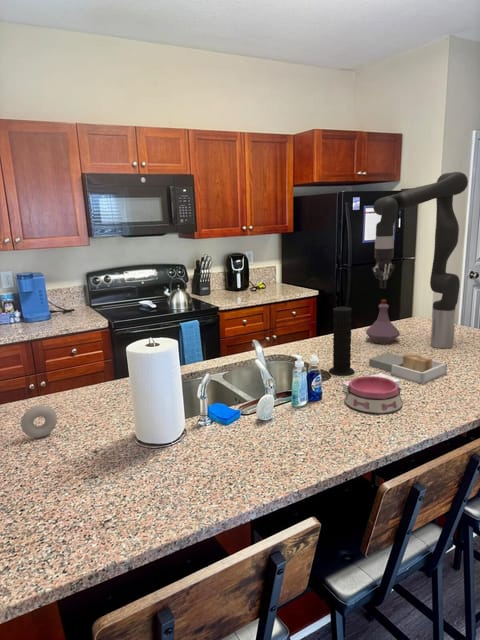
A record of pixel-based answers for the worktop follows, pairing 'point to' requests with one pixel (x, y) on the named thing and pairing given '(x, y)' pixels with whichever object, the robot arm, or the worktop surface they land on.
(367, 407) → the dog bowl
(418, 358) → the oak block
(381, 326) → the flask
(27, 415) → the donut
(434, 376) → the tray
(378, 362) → the grey square slab
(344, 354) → the handle grip
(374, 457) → the worktop surface
